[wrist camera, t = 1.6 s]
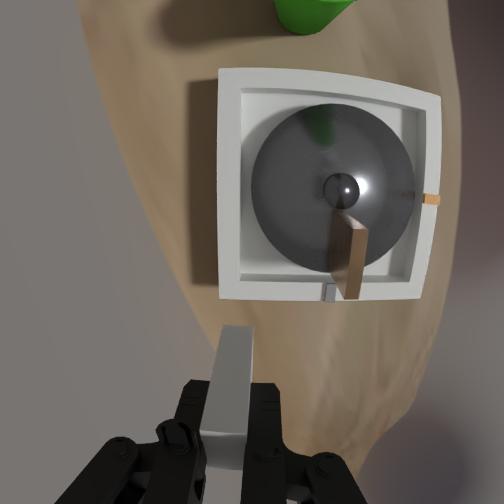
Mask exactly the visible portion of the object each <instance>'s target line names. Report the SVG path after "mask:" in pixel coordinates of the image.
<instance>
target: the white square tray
mask: <svg viewBox="0 0 504 504" xmlns="http://www.w3.org/2000/svg"><path fill="white" fill-rule="evenodd" d="M329 103H334V104H345V105H350V106H354V107H357V108H360V109H363V110H365V111H367V112H369V113H371V114H373V115H375V116H376V117H378V118H379V119H381V120H382V121H383V122H384V123H386V124H387V125H388V126H389V127H390V128H391V129H392V130H393V131H394V133H395V134H396V135H397V136H398V137H399V139H400V140H401V142H402V143H403V145H404V147H405V149H406V151H407V153H408V155H409V158H410V161H411V164H412V167H413V172H414V177H415V200H414V206H413V211H412V214H411V218H410V220H409V222H408V225H407V227H406V229H405V231H404V232H403V234H402V236H401V237H400V239H399V240H398V241H397V243H396V244H395V245H394V246H393V247H392V248H391V249H390V250H389V251H388V252H387V253H386V254H385V255H384V256H382V257H381V258H380V259H378V260H377V261H375V262H373V263H372V264H370V265H367V266H365V267H364V270H363V277H362V283H361V289H360V294H359V299H357V300H392V299H417V298H420V297H421V293H422V289H423V285H424V280H425V276H426V271H427V267H428V262H429V257H430V251H431V246H432V240H433V234H434V227H435V220H436V213H437V205H440V196H439V184H440V169H441V140H442V126H441V98H440V96H437V95H434V94H431V93H427V92H424V91H420V90H417V89H413V88H409V87H405V86H401V85H397V84H393V83H388V82H384V81H379V80H374V79H369V78H363V77H357V76H351V75H345V74H337V73H330V72H321V71H311V70H299V69H282V68H221V69H219V75H218V112H217V232H218V272H219V299H243V300H287V301H325V303H335V301H350V300H344V299H343V297H342V295H341V293H340V291H339V289H338V287H337V286H336V284H335V282H334V280H333V278H332V276H331V274H330V273H323V272H318V271H313V270H310V269H307V268H304V267H301V266H299V265H297V264H295V263H294V262H292V261H290V260H289V259H287V258H286V257H284V256H283V255H282V254H281V253H280V252H279V251H278V250H276V249H275V247H274V246H273V245H272V244H271V243H270V242H269V240H268V239H267V237H266V236H265V234H264V233H263V231H262V229H261V227H260V225H259V223H258V221H257V218H256V215H255V212H254V209H253V204H252V198H251V179H252V172H253V167H254V163H255V160H256V157H257V155H258V152H259V150H260V148H261V146H262V144H263V143H264V141H265V140H266V138H267V137H268V135H269V134H270V133H271V132H272V131H273V129H274V128H275V127H276V126H277V125H278V124H279V123H281V122H282V121H283V120H285V119H286V118H287V117H289V116H290V115H292V114H294V113H296V112H297V111H300V110H302V109H305V108H307V107H310V106H315V105H319V104H329Z"/></svg>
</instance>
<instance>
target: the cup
mask: <svg viewBox="0 0 504 504" xmlns="http://www.w3.org/2000/svg"><path fill="white" fill-rule="evenodd" d="M273 1H274V5H275V8H276V12H277V16H278V19H279V21H280V22H281V24H282V25H283V26H284V27H285V28H287V29H288V30H290V31H292V32H294V33H297V34H302V35H310V34H315V33H317V32H320V31H321V30H322V29H323V28H325V27H326V26H327V25H328V24H329V23H330V22H331V21H332V20H333V19H334V18H335V17H336V16H338V15H339V14H340V13H341V12H342V11H343V10H344V9H345V8H347V7H348V6H349V5H350V4H351V3H352V2H353V1H356V0H273Z"/></svg>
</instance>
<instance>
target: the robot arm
mask: <svg viewBox="0 0 504 504" xmlns="http://www.w3.org/2000/svg"><path fill="white" fill-rule="evenodd" d="M252 368H253V326H231V325H223V327H222V332H221V336H220V340H219V345H218V349H217V354H216V358H215V362H214V367H213V372H212V376H211V380H210V381H202V380H192V379H191V380H190V381H189V382H188V383H187V384H186V385H185V386H184V388H183V391H182V394H181V398H180V400H179V405H178V407H177V410H176V413H175V416H174V419H169V420H166V421H164V422H162V423H161V424H159V425H158V427H157V428H156V433H157V436H158V438H159V441H158V442H155V443H146V444H136V443H135V442H134V441H133V440H131V439H130V438H126V437H115V438H112V439H110V440H109V441H107V442H106V443H105V445H104V446H103V447H102V448H101V449H100V451H99V452H98V453H97V454H96V455H95V456H94V458H93V459H92V460H91V461H90V462H89V463H88V465H87V466H86V467H85V468H84V469H83V471H82V472H81V473H80V474H79V476H77V478H76V479H75V480H74V481H73V482H72V484H71V485H70V486H69V487H68V488H67V489H66V491H65V492H64V493H63V494H62V495H61V496H60V498H59V499H58V500H57V501H56V502H55V503H54V504H202V501H203V495H204V489H205V483H206V475H205V469H206V463H207V467H208V468H217V469H230V470H243V477H242V490H241V502H240V504H287V502H286V499H289V500H293V501H297V503H298V504H367V502H366V500H365V498H364V496H363V494H362V493H361V491H360V489H359V487H358V486H357V484H356V482H355V480H354V478H353V476H352V474H351V472H350V471H349V469H348V467H347V465H346V463H345V461H344V460H343V459H342V458H341V457H340V456H338V455H336V454H335V453H330V452H323V453H318V454H316V455H314V456H312V457H310V456H305V455H300V454H297V453H294V452H292V451H291V450H289V449H288V448H287V447H286V446H285V444H284V443H283V439H282V425H281V405H280V391H279V390H278V388H277V387H276V385H275V384H274V383H252Z"/></svg>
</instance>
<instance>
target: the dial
mask: <svg viewBox="0 0 504 504" xmlns="http://www.w3.org/2000/svg"><path fill="white" fill-rule="evenodd" d="M251 198H252V204H253V209H254V212H255V215H256V218H257V221H258V223H259V225H260V227H261V229H262V231H263V233H264V234H265V236H266V237H267V239H268V240H269V242H270V243H271V244H272V245H273V246H274V247H275V249H276V250H278V251H279V252H280V253H281V254H282V255H283V256H284V257H286V258H287V259H289V260H290V261H292V262H294V263H295V264H297V265H299V266H301V267H304V268H307V269H310V270H313V271H318V272H323V273H330V274H331V276H332V278H333V280H334V282H335V284H336V286H337V287H338V289H339V291H340V293H341V295H342V297H343V299H344V300H357V299H359V294H360V289H361V283H362V277H363V270H364V267H365V266H367V265H370V264H372V263H373V262H375V261H377V260H378V259H380V258H381V257H382V256H384V255H385V254H386V253H387V252H388V251H389V250H390V249H391V248H392V247H393V246H394V245H395V244H396V243H397V241H398V240H399V239H400V237H401V236H402V234H403V232H404V231H405V229H406V227H407V225H408V222H409V220H410V218H411V214H412V211H413V206H414V200H415V177H414V172H413V167H412V164H411V161H410V158H409V155H408V153H407V151H406V149H405V147H404V145H403V143H402V142H401V140H400V139H399V137H398V136H397V135H396V134H395V133H394V131H393V130H392V129H391V128H390V127H389V126H388V125H387V124H386V123H384V122H383V121H382V120H381V119H379V118H378V117H376V116H375V115H373V114H371V113H369V112H367V111H365V110H363V109H360V108H357V107H354V106H350V105H345V104H334V103H329V104H319V105H315V106H310V107H307V108H305V109H302V110H300V111H297V112H296V113H294V114H292V115H290V116H289V117H287V118H286V119H285V120H283V121H282V122H281V123H279V124H278V125H277V126H276V127H275V128H274V129H273V131H272V132H271V133H270V134H269V135H268V137H267V138H266V140H265V141H264V143H263V144H262V146H261V148H260V150H259V152H258V155H257V157H256V160H255V163H254V167H253V172H252V179H251Z"/></svg>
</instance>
